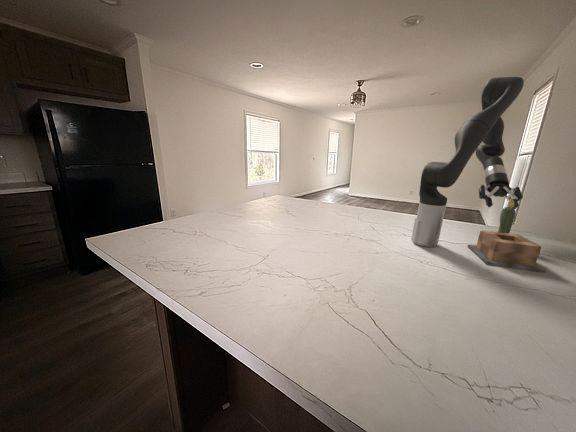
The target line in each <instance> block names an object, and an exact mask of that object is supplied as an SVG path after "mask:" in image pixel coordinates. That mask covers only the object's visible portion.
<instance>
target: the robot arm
mask: <svg viewBox="0 0 576 432" xmlns="http://www.w3.org/2000/svg"><path fill="white" fill-rule="evenodd" d="M524 82H525V80H524V78H522V77H520V76H506V77H504V76H503V77H501V76H500V77H492V78H490V79H488V80H487V82H486V83H485V84H484V87H483V88H482V92H481V97H480V98H481V111H479V112H477V113H475V114H473V115H471V116H470V117H468V118H467V119H466V120H464V122H463V123H462V124H461V126H460V127H459V129H458V130H457V132H456V133H455V136H454V145H455V146H454V147H455V153H454V155H453V156H452V157H451V159H450V160H449V161H447V162H444V161H443V162H442V161H441V162H440V161H439V162H438V161H431V162H428V163H426V165H425V166H424V168H423V169H422V173H421V178H420V185H419V193H418V194H419V204H418V208H417V214H416V218H414V223H413V227H412V234H411V241H412V242H413V244H414V245H418V246H422V247H427V248H436V247H438V245H439V241H440V237H441V235H440V234H441V230H442V226H443V222H444V219H445V218H444V216H445V213H446V209H447V205H448V198H447V197H446V196H445V195H443V194H442V193H441V192H440V191H439V190H438V187H439V188H443V189H444V188H450V187H451V186H453V185H454V184H455V183H456V182H457V180H458V179H459V178H460V176H461V174H462V172H463V171H464V169H465V167H466V166H467V164H468V162H469V161H470V159H471V157H472V156H473V154H474V153H475V156H476V159H478V161H479V162H480V163H481V164H482V168H483V172H484V173H483V175H484V182H485V185H484V184H482V185H480V186H479V187H478V196H479V199H480V200H485V204H486V206H487V207H488V208H492V206H493V205H494V203H493V199H492V196H493V197H496V198H497V197H499V198H504V199H505V200H507V199H508V198H512V199H513V201H514V207H513V208H514V209H515V210H516V209H517V208H518V207H520V205H519V201H521V200H522V199H523V198H524V197H523V194H522V192H521V189H520V187H519V186H516V187H510V180H509V177H508V173H507V170H506V168H505V165H504V160H503V158H502V157H501V156H503V155H504V153H505V150H506V149H505V145H504V142H503V135H504V130H505V123H504V120H503V119H502V115H503V114H504V113H505V112H506V111H507V110H508V109H509V107H510V106H511V105H512V104H513V103H514V101H516V99H517V98H518V97H519V95H520V93H521V92H522V90H523V87H524V84H525V83H524ZM482 143H483V144H482ZM481 144H482V145H481ZM486 191H487V193H488V194H486Z"/></svg>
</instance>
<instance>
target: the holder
mask: <svg viewBox="0 0 576 432" xmlns="http://www.w3.org/2000/svg"><path fill="white" fill-rule="evenodd" d="M467 248H468V249H469V250H470V251H471V252H472V253H473V254H474V255H476V256H477V257H478V258H479V259H480V260H481V261H482V262H483V263H484V264H485V265H488V266H495V267H502V268H507V269H516V270H524V271H531V272H537V273H545V274H546V273H547V269H546V268H544V267H543V266H541V265H540V264H538V263H537V261H538V258H539V256H540V252H541V250H542V246H541V245H539V244H537V243H535V242H534V241H532V240H530V239H529V238H527V237H524V236H522V235H521V234H518V233H517V234H516V233H499V232H498V231H489V230H480V231H479V235H478V240H477V242H476V244H475V245H474V244H467Z"/></svg>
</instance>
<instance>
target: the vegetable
mask: <svg viewBox="0 0 576 432" xmlns="http://www.w3.org/2000/svg"><path fill="white" fill-rule="evenodd" d="M506 201H507V205H506V207H504V208H503V209H502V210H501V212H500V215H499V226H498V230H497V232H499V233H509V234H511V229H512V226H513V223H514V221H515V217H516V209H514V208H513V207H514V201H513V199H512V197H511V198H508V199H506Z"/></svg>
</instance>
